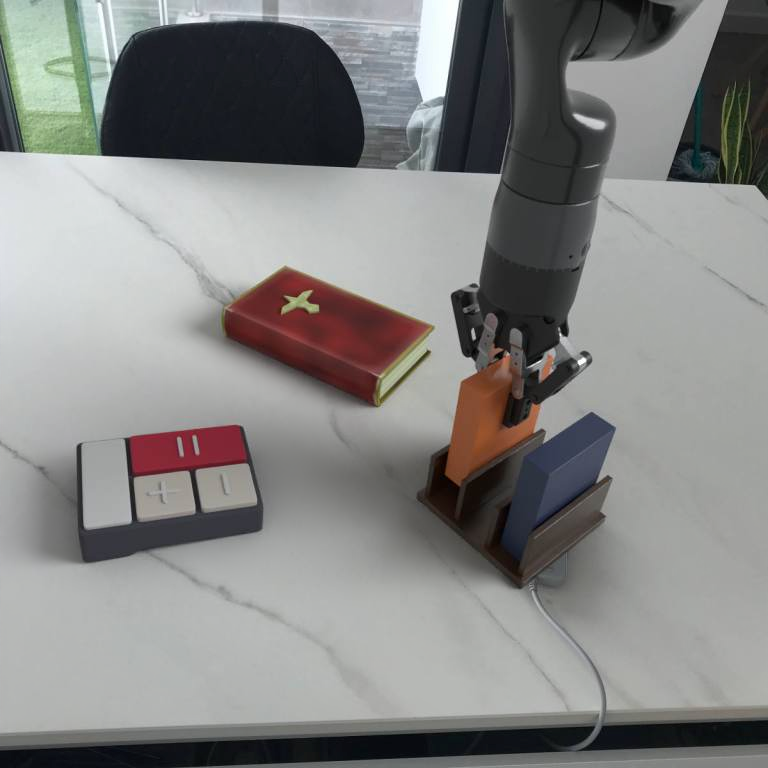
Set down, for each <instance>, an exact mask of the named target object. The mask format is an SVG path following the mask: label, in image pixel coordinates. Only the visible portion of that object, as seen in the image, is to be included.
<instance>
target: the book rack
mask: <svg viewBox="0 0 768 768" xmlns="http://www.w3.org/2000/svg"><path fill="white" fill-rule="evenodd" d="M546 435H547V430H546V429H544V428H543V427H541V428H540V429H538V430H536V431H534V433H533V434H532V435H530V436H529V437H527V438H526V439H524V440H523V441H521V442H520V443H518V444H516V445H515V446H513V447H512V448H510V449H509V450H507V451H506V452H504V453H503V454H501V455H500V456H498V457H496V458H495V459H493V460H492V461H490V462H489V463H487V464H486V465H484V466H483V467H481V468H479V469H478V470H476V471H475V472H473V473H472V474H470V475H469V476H467V477H466V478H464V479H462V481H461V486H458V485H457V484H456V483H455V482H453V481H452V480H451V479H450V478H449V477H447V476H446V475H445V470H446V464H447V459H448V453H449V447H450V443H449V444H447V445H446V446H444V447H442V448H440V449H438V450H437V451H435V452H433V453H432V454H431V455H430V459H429V465H428V472H427V478H426V485H425V487H423V488H422V489H421V490H419V491H417V493H416V499H417V500H418V501H420V503H422V504H423V506H424V507H426V508H427V509H428V510H429V511H431V512H432V513H433V514H434V515H435V516H437V517H438V518H439V519H440V520H441V521H442V522H443V523H445V524H446V526H448V527H449V528H451V530H453V531H454V532H455V533H456V534H457V536H459V537H460V538H462V539H463V540H464V541H465V542H466V543H468V544H469V545H470V546H471V548H473V549H474V550H476V551H477V552H478V553H479V554H480V555H482V556H483V558H485V559H486V560H487V561H488V562H489V563H491V564H492V565H493V566H494V567H495V568H496V569H498V570H499V572H501V573H502V574H503V575H504V576H505V577H507V578H508V580H510V581H511V582H512V583H513V584H515V586H517V587H518V588H519V589H521V590H522V589H524V587H526V586H527V585H528V584H530V583H531V582H532V581H533V580H534V579H536V578H537V577H538V576H540V575H541V574H542V573H543V572H544V571H546V570H547V569H548V568H549V567H551V566H552V565H553V564H554V563H556V562H557V561H558V560H559V559H561V558H562V557H563V556H564V555H565V554H566V553H568V552H569V551H570V550H572V549H573V548H574V547H575V546H577V545H578V544H579V543H580V542H581V541H582V540H584V539H585V538H586V537H588V536H589V535H590V534H591V533H592V532H594V531H595V530H596V529H598V528H599V527H600V526H602V524H604V523H605V521H606V519H607V515H606V514H604V513H603V512H601V511H602V508H603V506H604V503H605V500H606V498H607V495H608V493H609V491H610V487H611V485H612V483H613V480H614V478H613V477H612V476H610V475H609V474H607V475H606V476H604V477H603V478H601V479H600V480H599V481H597V482H596V484H595V485H594V486H592V487H591V488H590V489H588V490H587V491H586V492H584V493H583V494H582V495H581V496H579V497H578V498H577V499H575V500H574V501H573V502H571V503H570V504H569V505H567V506H566V507H565V508H563V509H562V510H561V511H559V512H558V513H557V514H555V515H554V516H553V517H551V518H550V519H549V520H547V521H546V522H545V523H544V524H542V525H541V526H540V527H538V528H537V529H536V530H534V531H533V532H532V533H530V534H529V536H528V539H527V542H526V546H525V549H524V552H523V556H522V559H521V562H520V561H518V560H517V559H516V558H515V557H514V556H512V555H511V554H510V553H509V552H508V551H507V550H505V549H504V548H503V547H502V546H501V545H500V543H501V539H502V535H503V532H504V528H505V524H506V521H507V517H508V513H509V510H510V506H511V502H512V499H513V495H514V491H515V488H516V484H517V480H518V477H519V473H520V469H521V465H522V462H523V458H524V456H526V455H527V454H529V453H530V452H532V451H533V450H535V449H536V448H538V447H539V446H541V445H542V444H544V443H545V442H544V441H545V437H546Z"/></svg>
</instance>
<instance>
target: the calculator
mask: <svg viewBox="0 0 768 768" xmlns="http://www.w3.org/2000/svg"><path fill="white" fill-rule="evenodd" d="M75 453H76V457H75V458H76V459H75V460H76V499H77V501H76V504H77V505H76V506H77V507H76V509H77V535H78V540H79V546H80V552H81V557H82V560H83V562H85V563H93V562H99V561H105V560H111V559H118V558H124V557H125V558H126V557H130V556H132V555H134V554H135V553H137V552H139V551H141V550H145V549H154V548H159V547H165V546H171V545H178V544H186V543H192V542H197V541H204V540H211V539H218V538H224V537H230V536H237V535H244V534H249V533H256V532H260V531H262V529H263V526H264V503H263V502H264V501H263V497H262V494H261V490H260V486H259V482H258V479H257V476H256V472H255V471H256V470H255V467H254V463H253V460H252V455H251V452H250V447H249V444H248V439H247V435H246V432H245V429H244V426H242V425H240V424H239V425H238V424H228V425H217V426H211V427H210V426H209V427H202V428H191V429H184V430H183V429H182V430H175V431H173V430H172V431H164V432H163V431H162V432H156V433H145V434H138V435H137V434H136V435H132V436H131V435H130V437H129V436H128V437H121V438H120V437H119V438H112V439H103V440H93V441H84V442H79V443H77V445H76V450H75Z"/></svg>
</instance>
